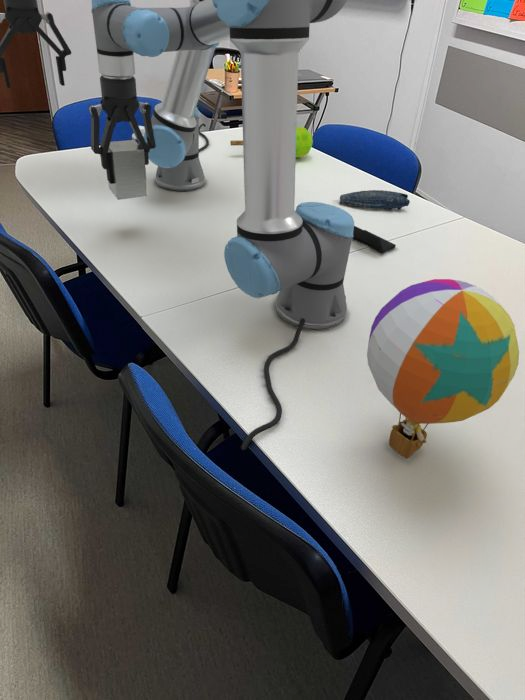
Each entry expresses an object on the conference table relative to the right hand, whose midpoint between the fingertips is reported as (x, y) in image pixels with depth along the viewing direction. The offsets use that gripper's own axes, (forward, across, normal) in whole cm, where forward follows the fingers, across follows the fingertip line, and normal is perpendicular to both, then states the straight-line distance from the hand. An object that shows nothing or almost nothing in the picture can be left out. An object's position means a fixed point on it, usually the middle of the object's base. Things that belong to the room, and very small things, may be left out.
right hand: (127, 179), depth 126 cm
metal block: (+3, 0, 0) cm, 3 cm away
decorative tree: (+14, -65, -40) cm, 77 cm away
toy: (+14, -17, +88) cm, 91 cm away
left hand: (-13, +12, -37) cm, 41 cm away
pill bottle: (+14, -21, -56) cm, 61 cm away
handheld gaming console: (+14, -56, +29) cm, 64 cm away
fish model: (+14, -73, +8) cm, 75 cm away
